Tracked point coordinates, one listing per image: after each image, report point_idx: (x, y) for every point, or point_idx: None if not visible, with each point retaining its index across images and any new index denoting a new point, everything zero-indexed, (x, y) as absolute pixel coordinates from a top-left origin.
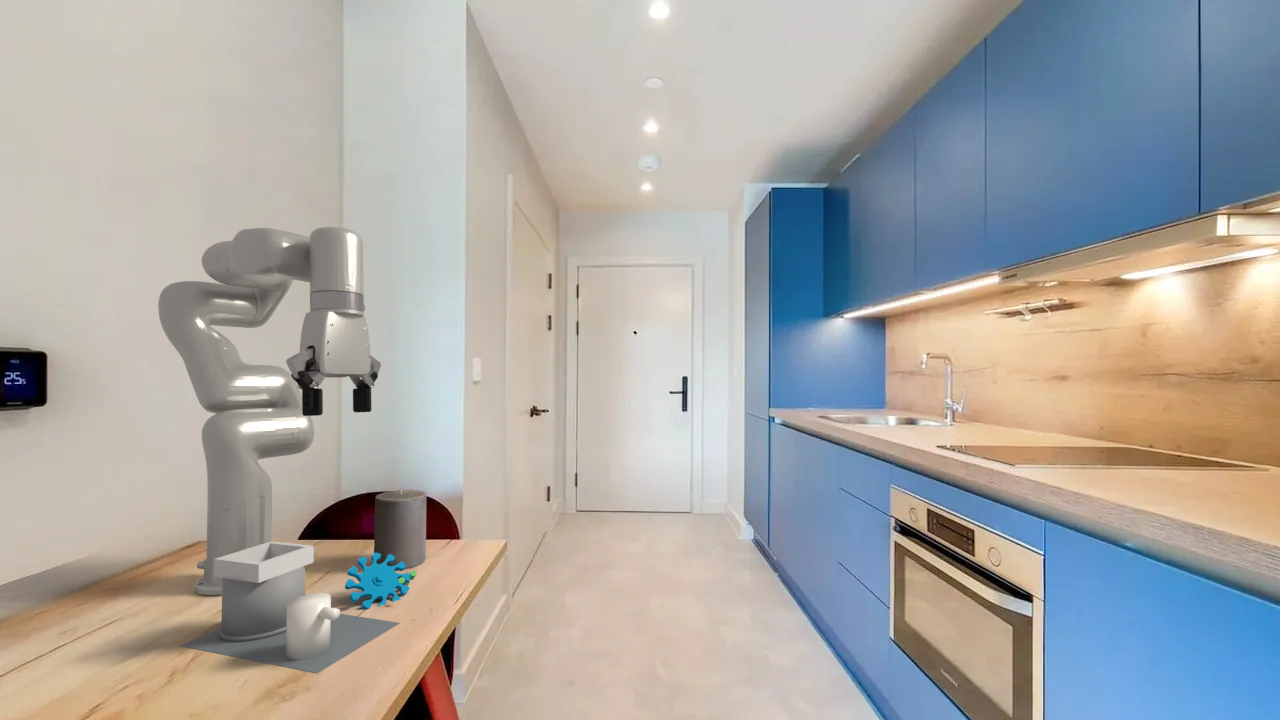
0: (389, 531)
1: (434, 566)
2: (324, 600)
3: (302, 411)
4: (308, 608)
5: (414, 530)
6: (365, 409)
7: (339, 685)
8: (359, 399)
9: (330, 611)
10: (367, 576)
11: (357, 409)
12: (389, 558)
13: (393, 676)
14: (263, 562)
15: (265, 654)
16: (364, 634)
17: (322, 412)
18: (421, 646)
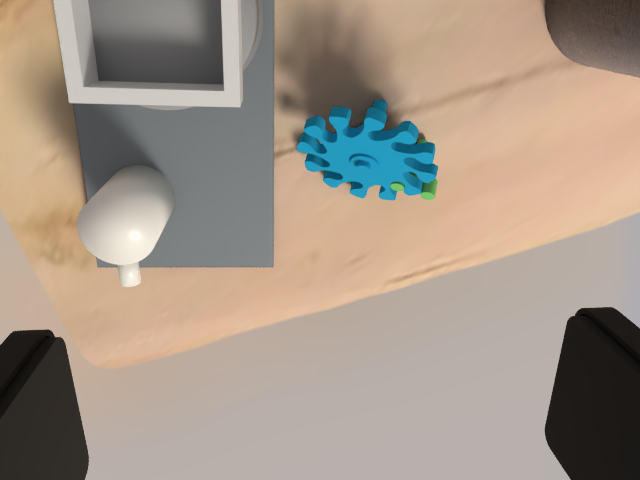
0: (605, 19)
1: (583, 112)
2: (130, 257)
3: (3, 343)
4: (95, 254)
5: (636, 75)
6: (554, 431)
7: (108, 296)
8: (622, 449)
9: (120, 281)
10: (351, 146)
11: (570, 363)
12: (420, 157)
13: (155, 343)
14: (85, 98)
15: (100, 137)
16: (217, 242)
17: (84, 475)
18: (237, 326)
